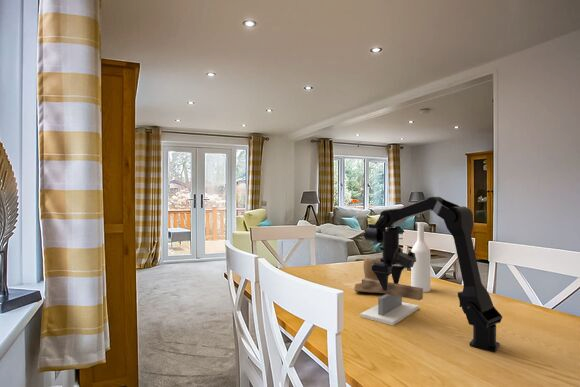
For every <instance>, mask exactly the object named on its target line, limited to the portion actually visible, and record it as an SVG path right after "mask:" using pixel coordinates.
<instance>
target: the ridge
mask: <svg viewBox="0 0 580 387" xmlns="http://www.w3.org/2000/svg"><path fill="white" fill-rule="evenodd" d="M377 298H378V299H377V300H378V302H377V304H376V305H374V306H372V307H370V308H368V309H366V310H365V311H362V312H361V313H360V316H359V317H361V318H363V319H367V320H371V321H375V322H378V323H382V324H386V325H390V326H394V325H397V323H399V322H401V321H402V320H404V319H406V318H407V317H408V316H409V315H411V314H413V313H414V312H416V311H417V310H419V304H414V303H409V302H404V301H403V297H400V296H395V295H390V294H385V293H384V294H383V295H381V296H379V297H377Z"/></svg>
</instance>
